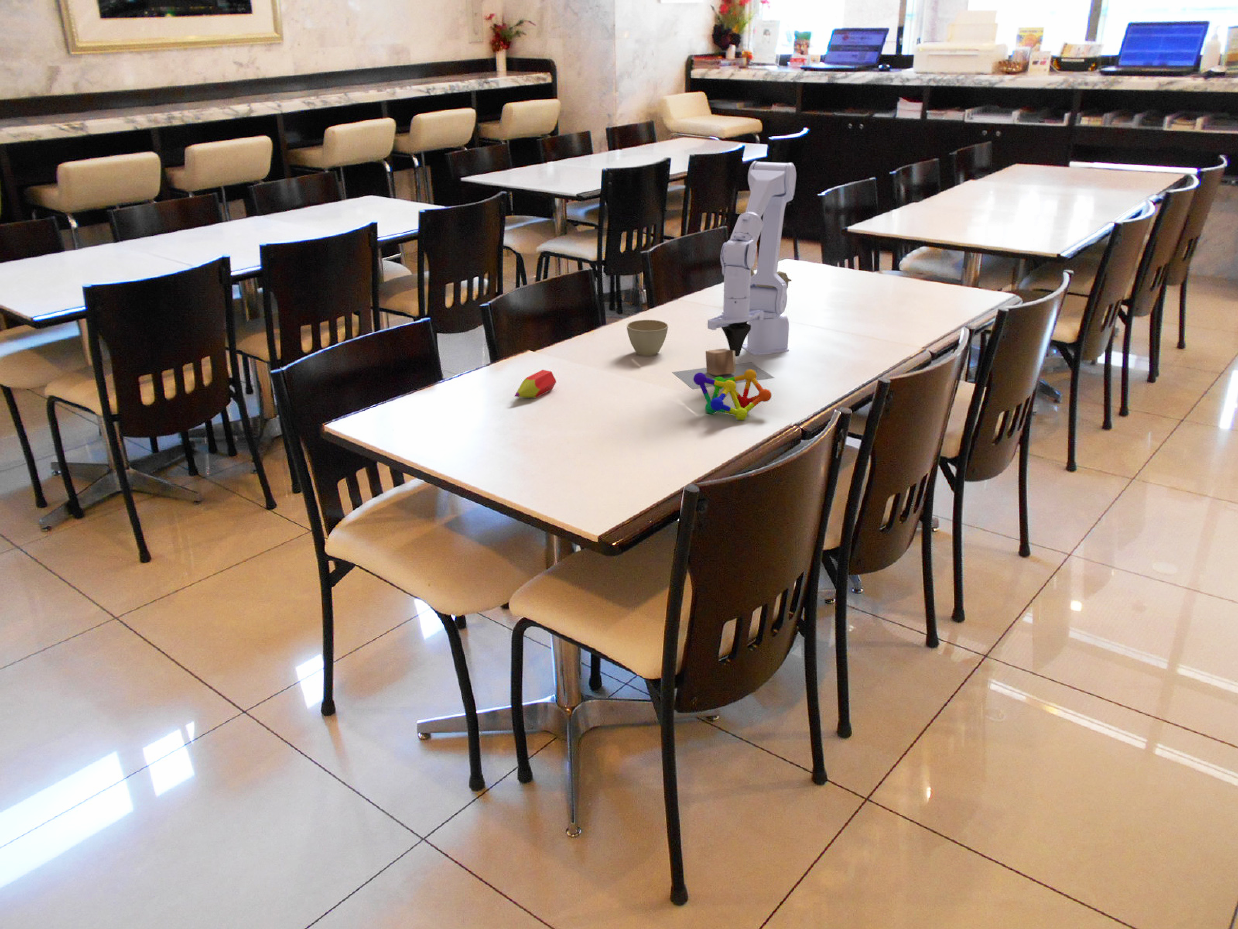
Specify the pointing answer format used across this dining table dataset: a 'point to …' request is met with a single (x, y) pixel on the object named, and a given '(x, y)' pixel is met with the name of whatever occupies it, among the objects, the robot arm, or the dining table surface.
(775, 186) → the robot arm
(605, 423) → the dining table surface
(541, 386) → the pencil
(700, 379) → the decorative model
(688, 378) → the mat
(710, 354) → the walnut cube
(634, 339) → the flower pot
